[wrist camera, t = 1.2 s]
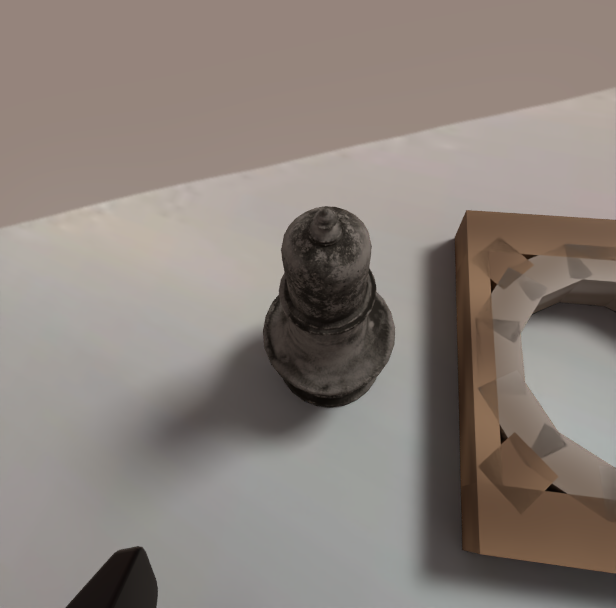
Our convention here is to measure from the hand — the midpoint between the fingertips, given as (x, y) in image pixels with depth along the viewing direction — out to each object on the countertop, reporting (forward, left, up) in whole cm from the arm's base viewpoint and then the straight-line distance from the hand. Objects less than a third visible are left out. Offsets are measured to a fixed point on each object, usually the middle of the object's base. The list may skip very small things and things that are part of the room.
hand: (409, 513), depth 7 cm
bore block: (+7, -11, -13) cm, 19 cm away
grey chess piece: (+7, +2, -13) cm, 15 cm away
